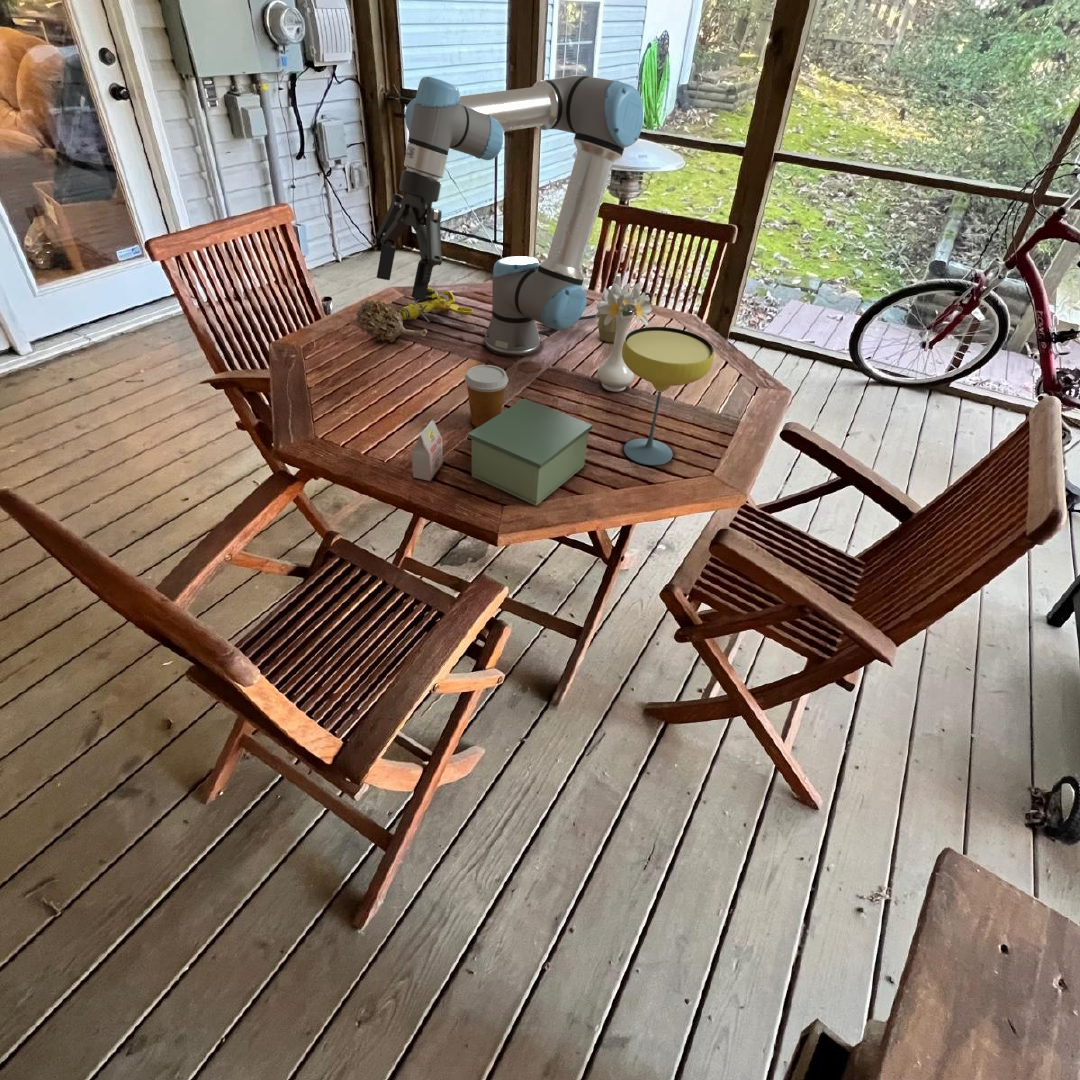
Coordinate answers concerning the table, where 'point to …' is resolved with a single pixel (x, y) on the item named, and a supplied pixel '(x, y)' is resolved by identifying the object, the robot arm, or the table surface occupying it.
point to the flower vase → (620, 331)
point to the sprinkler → (432, 305)
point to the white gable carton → (427, 453)
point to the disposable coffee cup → (485, 392)
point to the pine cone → (382, 321)
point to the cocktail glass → (663, 375)
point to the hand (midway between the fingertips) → (400, 288)
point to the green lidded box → (529, 450)
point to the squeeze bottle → (609, 330)
